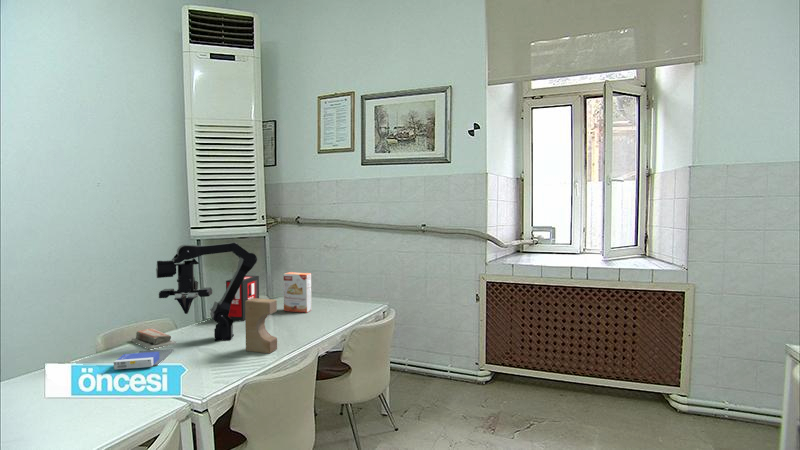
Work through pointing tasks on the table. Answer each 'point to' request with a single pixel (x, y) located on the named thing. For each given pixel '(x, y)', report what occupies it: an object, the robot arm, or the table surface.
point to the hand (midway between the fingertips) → (186, 313)
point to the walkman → (136, 360)
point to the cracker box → (297, 292)
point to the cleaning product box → (243, 296)
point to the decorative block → (259, 325)
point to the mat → (160, 354)
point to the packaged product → (152, 339)
